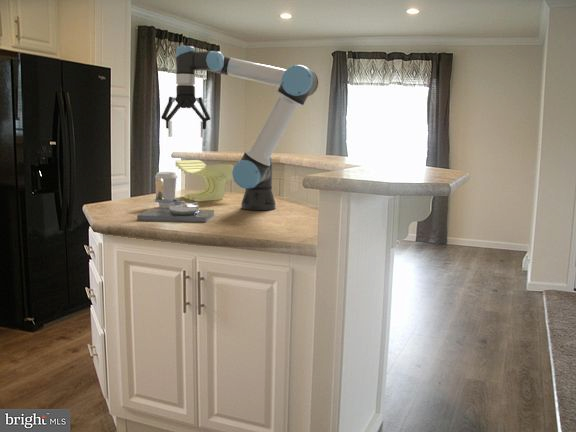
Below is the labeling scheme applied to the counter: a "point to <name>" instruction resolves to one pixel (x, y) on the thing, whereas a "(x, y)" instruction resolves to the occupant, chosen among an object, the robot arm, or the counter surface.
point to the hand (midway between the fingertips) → (186, 137)
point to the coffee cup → (167, 186)
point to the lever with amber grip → (175, 202)
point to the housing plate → (174, 216)
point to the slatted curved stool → (207, 178)
